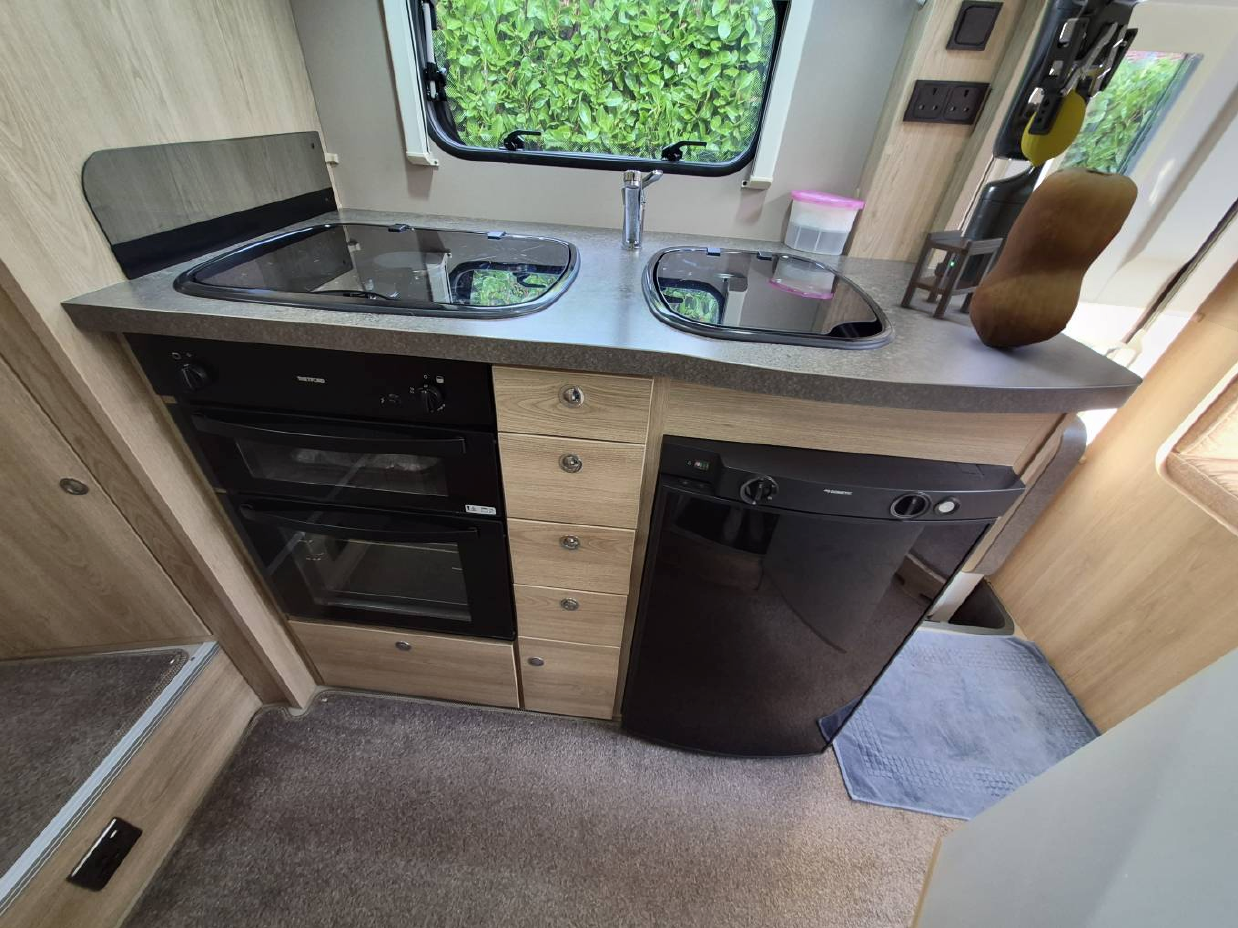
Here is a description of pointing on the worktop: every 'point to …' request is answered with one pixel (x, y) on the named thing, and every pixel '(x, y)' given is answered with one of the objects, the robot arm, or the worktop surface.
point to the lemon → (1056, 132)
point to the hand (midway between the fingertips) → (1049, 134)
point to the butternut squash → (1050, 256)
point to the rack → (951, 284)
